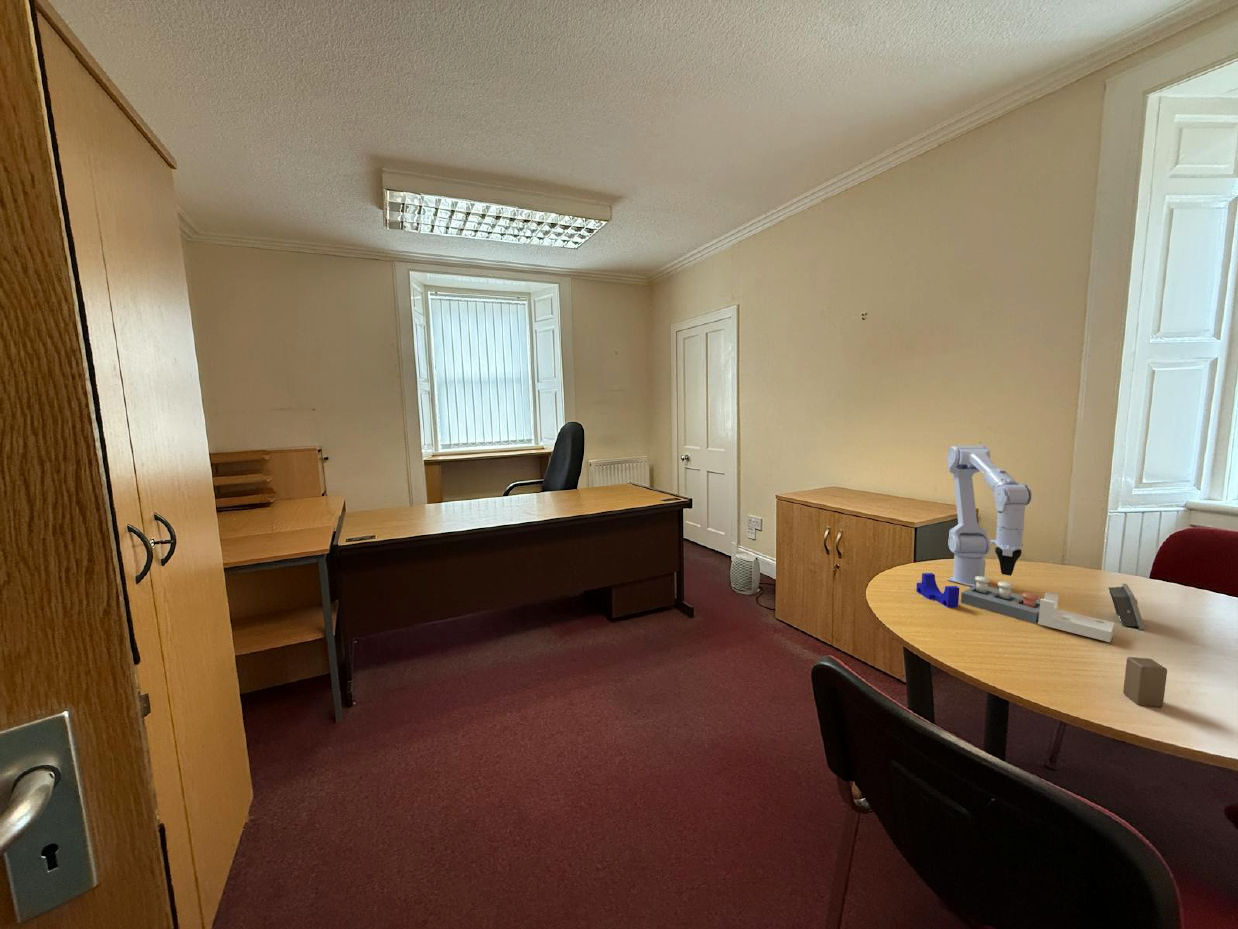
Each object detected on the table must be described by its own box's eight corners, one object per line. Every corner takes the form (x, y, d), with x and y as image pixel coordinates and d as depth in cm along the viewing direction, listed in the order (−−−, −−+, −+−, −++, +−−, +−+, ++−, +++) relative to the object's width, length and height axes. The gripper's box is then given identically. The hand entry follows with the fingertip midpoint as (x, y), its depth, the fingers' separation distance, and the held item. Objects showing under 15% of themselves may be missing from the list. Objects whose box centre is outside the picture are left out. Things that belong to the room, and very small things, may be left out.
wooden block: (1146, 696, 94) (1151, 658, 93) (1163, 708, 90) (1168, 669, 89) (1121, 693, 95) (1125, 655, 94) (1137, 705, 91) (1142, 666, 90)
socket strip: (977, 593, 144) (977, 584, 144) (1049, 613, 130) (1050, 602, 130) (960, 602, 138) (961, 592, 138) (1035, 624, 124) (1036, 613, 124)
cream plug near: (977, 587, 141) (978, 575, 140) (991, 591, 138) (991, 578, 138) (972, 590, 139) (973, 577, 139) (986, 594, 136) (987, 581, 136)
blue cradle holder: (916, 592, 147) (917, 573, 147) (930, 591, 147) (931, 573, 147) (942, 608, 135) (943, 588, 135) (958, 608, 135) (959, 587, 135)
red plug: (1023, 604, 132) (1024, 591, 131) (1039, 608, 129) (1040, 595, 129) (1018, 607, 130) (1019, 594, 130) (1034, 612, 127) (1035, 598, 127)
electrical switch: (1145, 631, 119) (1143, 595, 118) (1115, 628, 122) (1114, 592, 122) (1136, 618, 126) (1135, 583, 125) (1109, 614, 129) (1107, 581, 129)
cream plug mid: (999, 593, 136) (1000, 580, 136) (1014, 597, 133) (1015, 584, 133) (995, 596, 134) (995, 583, 134) (1009, 600, 132) (1010, 587, 131)
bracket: (1037, 627, 123) (1040, 599, 122) (1043, 619, 127) (1045, 592, 127) (1109, 646, 113) (1112, 616, 112) (1112, 636, 118) (1115, 607, 117)
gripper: (993, 520, 139) (990, 564, 141) (989, 530, 129) (986, 578, 130) (1024, 523, 135) (1021, 569, 137) (1024, 534, 124) (1020, 584, 126)
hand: (1006, 574), depth 133 cm, fingers closed
